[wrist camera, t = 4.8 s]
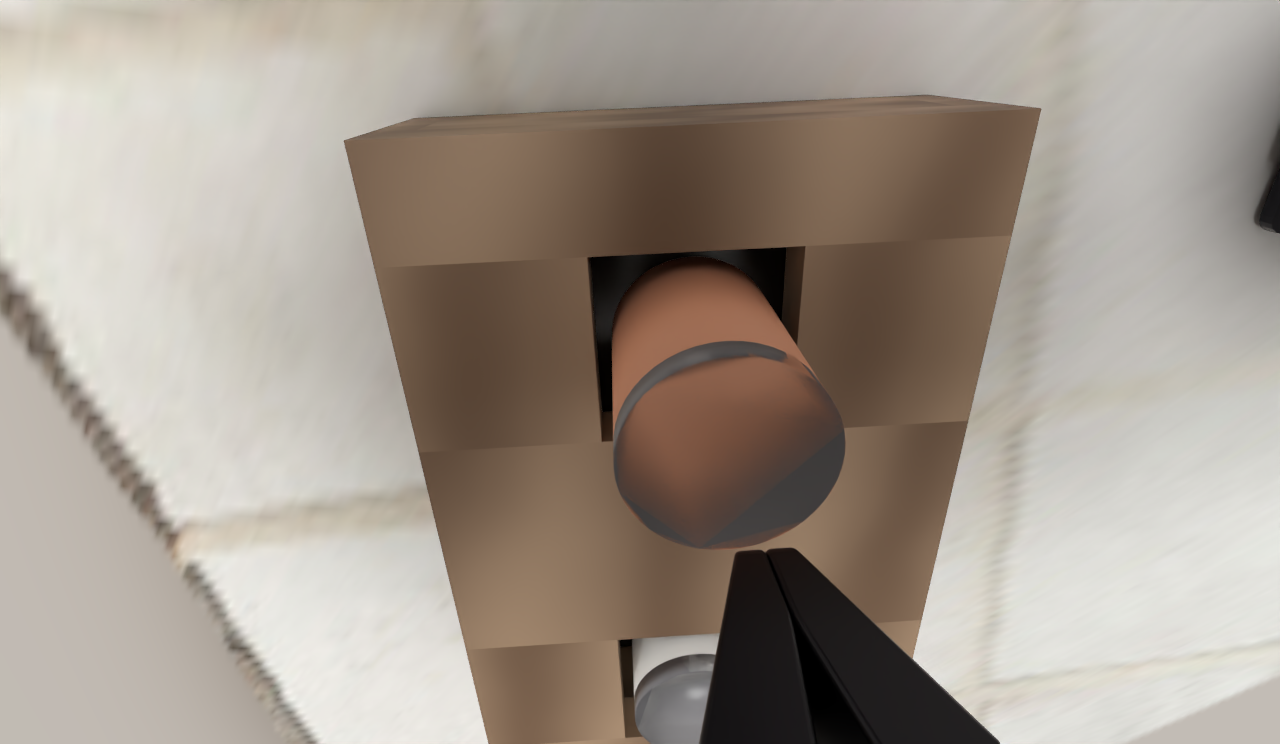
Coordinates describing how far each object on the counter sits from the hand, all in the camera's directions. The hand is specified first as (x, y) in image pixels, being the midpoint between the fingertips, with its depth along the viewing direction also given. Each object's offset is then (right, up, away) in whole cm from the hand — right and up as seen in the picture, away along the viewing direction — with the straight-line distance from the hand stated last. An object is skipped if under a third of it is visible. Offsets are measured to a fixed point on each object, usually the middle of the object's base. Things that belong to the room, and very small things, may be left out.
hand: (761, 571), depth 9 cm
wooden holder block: (0, 0, +13) cm, 13 cm away
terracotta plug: (0, +4, +7) cm, 8 cm away
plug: (0, -5, +15) cm, 16 cm away
